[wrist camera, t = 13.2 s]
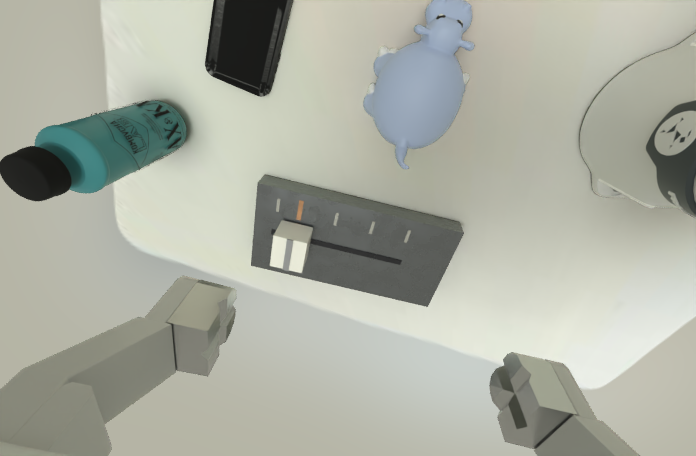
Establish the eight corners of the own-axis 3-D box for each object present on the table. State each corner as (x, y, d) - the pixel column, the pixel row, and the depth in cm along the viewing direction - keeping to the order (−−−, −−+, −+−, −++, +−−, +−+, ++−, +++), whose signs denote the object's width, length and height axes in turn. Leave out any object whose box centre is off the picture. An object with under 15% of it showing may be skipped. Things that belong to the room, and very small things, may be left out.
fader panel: (459, 221, 45) (464, 233, 43) (425, 293, 53) (427, 307, 50) (264, 174, 44) (257, 183, 42) (257, 254, 52) (250, 265, 49)
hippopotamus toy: (495, 19, 33) (532, 12, 25) (436, 154, 41) (449, 183, 33) (396, -15, 33) (401, -33, 24) (355, 129, 40) (348, 152, 32)
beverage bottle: (177, 157, 44) (48, 232, 27) (135, 119, 42) (-35, 175, 25) (204, 125, 42) (80, 187, 25) (160, 83, 39) (-9, 119, 22)
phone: (203, 72, 38) (226, -92, 30) (208, 71, 39) (231, -88, 31) (267, 100, 39) (305, -53, 31) (270, 98, 40) (307, -50, 32)
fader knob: (313, 227, 44) (307, 244, 41) (307, 255, 47) (301, 274, 43) (281, 220, 44) (272, 236, 40) (277, 248, 47) (269, 266, 43)
